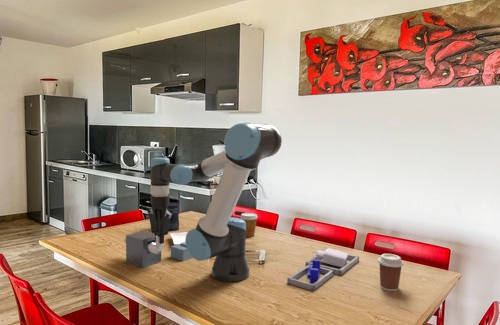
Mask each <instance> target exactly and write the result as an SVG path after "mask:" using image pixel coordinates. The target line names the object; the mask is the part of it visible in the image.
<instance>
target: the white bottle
mask: <svg viewBox="0 0 500 325" xmlns="http://www.w3.org/2000/svg"><path fill="white" fill-rule="evenodd" d="M324 251H325V252H324ZM311 253H312V254H315V256H318V257H321V259H322V260H321V261H322V262H323V263H324V264H327V265H331V266H335V267H338V268H340V269H341V268H342V267H344V266H345V265H346V264H347V263H348V262H347V261H348V259H347V257H348V254H349V253H348V252H345V251H341V250H337V249H335V248H334V249H333V248H329V247H327V248H326V249H325V250H321V249H317V250H313V251H312V252H311Z"/></svg>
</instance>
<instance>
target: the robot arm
mask: <svg viewBox="0 0 500 325" xmlns="http://www.w3.org/2000/svg"><path fill="white" fill-rule="evenodd" d="M282 143H283V142H282V136H281V133H280V131H279V130H278V129H277V128H276V127H275V126H274V125H272V124H267V123H252V122H242V123H240V122H239V123H236V124H234V125H233V126H231V127H230V128H229V129H228V130H227V132H226V134H225V136H224V139H223V145H224V150H222V151H221V152H218V153H216V154H213V155H212V156H210V157H208V158H205V159H203V160H201V161H198V162H193V163H177V164H176V163H175V164H174V163H171V162H170V158H168V157H152V158H151V160H150V168H149V169H150V205H151V208H150V209H147V214H148V218H149V224H150V230H151V231H150V232H152V233H154V234H155V242H156V251H157V252H159V251H161V252H162V251H164V244H165V236H167V235H168V234H169V232H170V231H169V226H170V220H171V217H172V215H173V214H172V213H169V211H168V204H169V202H170V196H169V195H170V183H171V184H175V185H187V184H189V183H192V182H199V181H207V180H210V179H212V178H213V176H215V175H218V174H221V173H222V174H221V176H220V179H219V180H218V183H217V185H216V189H215V191H214V193H213V196H212V198H211V200H210V204H209V206H208V207H207V210H206V213H205V215H204V216H202V217H200V218H199V219H198V222H197V224H196V226H195V228H193V229H190V230H188V231H187V232H188V233H187V235H186V239H185V242H186V247H187V250H188V252H189V254H190V255H191V256H192V257H193V259H194V260H196V261H199V262H202V261H206V260H207V261H208V260H209V259H212V258H215V259H214V262H213V264H212V268H211V277H213V278H214V279H215V280H217V281H220V282H227V283H228V282H231V283H232V282H233V283H234V282H240V281H243V280H245V279H248V278H249V276H250V267H249V264H248V260H247V257H246V244H247V243H246V241H247V239H246V238H247V237H246V223H245V221H244V220H243V219H241V218H239V217H232V214H233V213H234V210H235V208H236V206H237V203H238V201H239V199H240V196H241V195H242V192H243V189H244V188H245V185H246V183H247V180H248V177H249V176H250V173H251V171H253V170H256V169H257V168H258V166H259V164H260V161H261V160H263V159H266V158H270V157H272V156H275V155H276V154H277V153H278V152H279V150H280V149H281V147H282Z"/></svg>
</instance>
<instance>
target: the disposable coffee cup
mask: <svg viewBox="0 0 500 325" xmlns="http://www.w3.org/2000/svg"><path fill="white" fill-rule="evenodd" d="M240 219H243V220H244V221H245V223H246V238H253V237H255V233H256V227H257V219H258V214H256V213H254V212H243V213H241V215H240Z"/></svg>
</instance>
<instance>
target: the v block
mask: <svg viewBox="0 0 500 325" xmlns="http://www.w3.org/2000/svg"><path fill="white" fill-rule="evenodd" d="M170 258H173V259H175V260H179V261H182V262H184V261H188V260H189V259H192V258H193V257H192V256H191V255H190V254H189V252H188V250H187V247H186V242H183V243H180V246H178V245H174V244H173V245H171V246H170ZM193 259H194V258H193Z"/></svg>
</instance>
